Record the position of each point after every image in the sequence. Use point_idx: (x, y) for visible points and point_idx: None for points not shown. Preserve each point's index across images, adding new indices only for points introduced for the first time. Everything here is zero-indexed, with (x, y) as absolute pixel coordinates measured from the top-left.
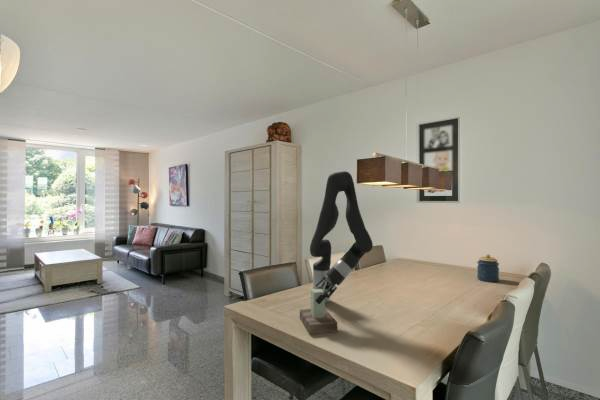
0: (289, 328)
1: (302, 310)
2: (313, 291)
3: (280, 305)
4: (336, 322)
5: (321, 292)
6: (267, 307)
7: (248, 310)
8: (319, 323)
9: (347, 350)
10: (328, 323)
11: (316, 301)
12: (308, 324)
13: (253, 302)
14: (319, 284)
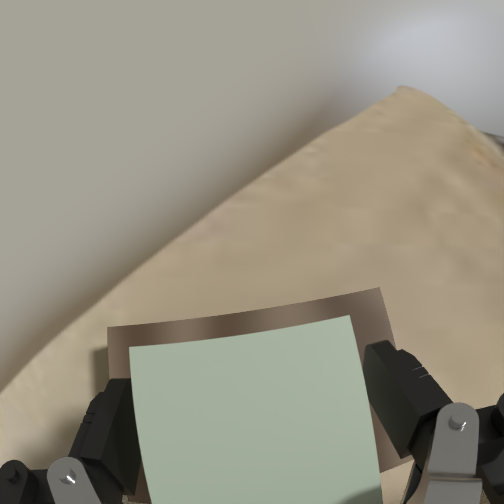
0: (219, 248)
1: (364, 305)
2: (194, 355)
3: (486, 217)
4: (127, 496)
5: (151, 489)
6: (451, 170)
7: (403, 117)
8: None
9: (7, 440)
10: None
11: (114, 383)
12: (127, 327)
13: (470, 138)
14: (446, 492)
